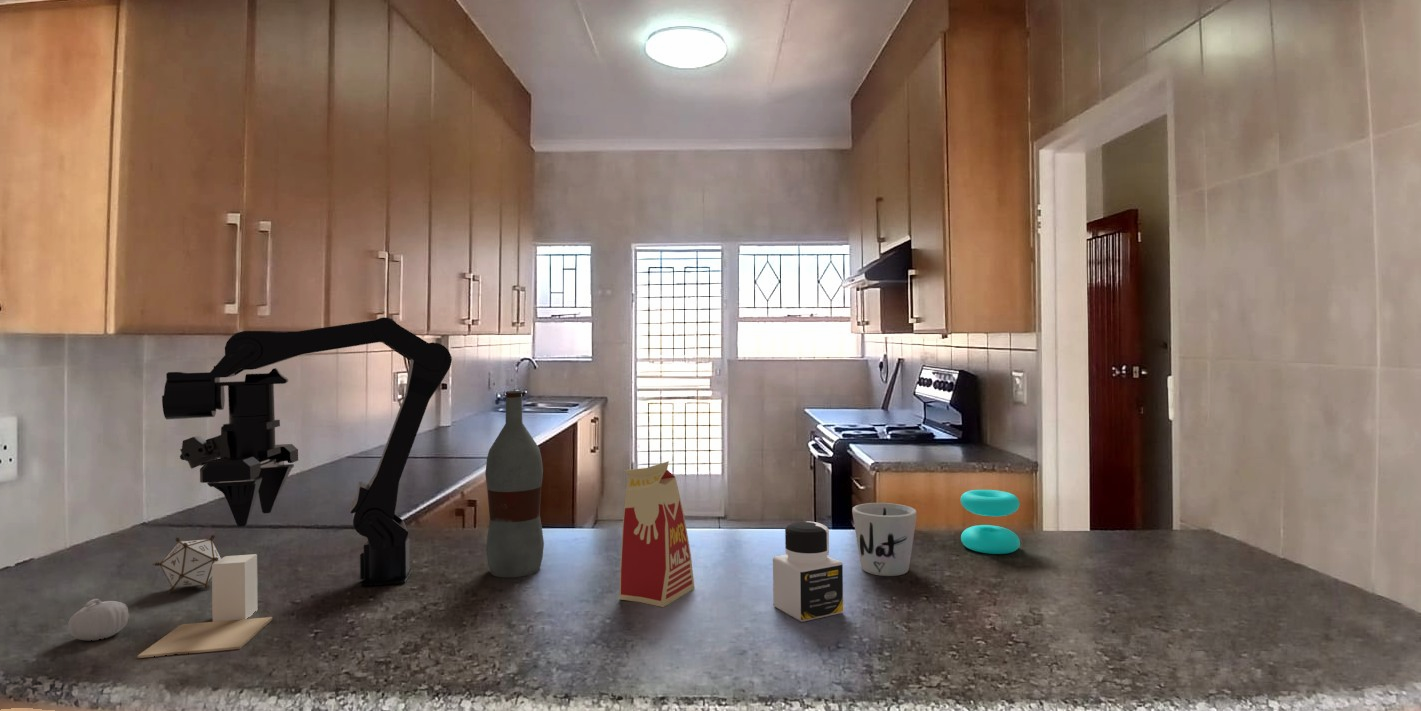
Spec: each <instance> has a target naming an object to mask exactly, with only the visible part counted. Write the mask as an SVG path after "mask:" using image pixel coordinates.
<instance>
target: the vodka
mask: <svg viewBox="0 0 1421 711" xmlns="http://www.w3.org/2000/svg"><path fill="white" fill-rule="evenodd" d="M504 394H505V424H504V425H503V427H502V429H501V430H500V432H499V434H498V435H497V437H496V439H495V440H494V442H493V443H492V444H491V447H490V448H489V450H488V452H487V457H486V462H485V465H486V466H485V475H484V476H485V482H486V487H487V488H486V490H487V500H488V501H487V502H488V512H489V521H488V522H489V523H488V529H487V534H486V535H487V536H486V537H487V538H486V545H485V546H486V547H485V550H486V551H485V552H486V559H487V566H488V568H489V572H490V574H491V575H492V576H494V577H498V578H508V579H509V578H520V577H527V576H530V575H533V574H535V573H537V572H538V571H540V569H541V565H542V562H543V556H544V546H545V542H544V535H543V526H542V521H541V501H542V500H541V498H542V484H543V474H544V467H543V460H542V453H541V450H540V447H539V445H538V444H537V442H536V441H535V439H534V438H533V437H532V435H531V433H530V432H529V431H528V428H526V426H525V424H524V423H523V400H522V396H523V395H522V394H523V391H522V390H507V391H505V392H504Z"/></svg>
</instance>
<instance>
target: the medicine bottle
mask: <svg viewBox="0 0 1421 711" xmlns="http://www.w3.org/2000/svg"><path fill="white" fill-rule="evenodd" d="M784 531H785V532H784V536H785V538H784V539H785V540H784V541H785V542H784V544H785V545H784V546H785V551H784V552H785V554H781V555H776V556H773V557H772V581H773V582H772V589H773V590H772V595H773V597H772V598H773V601H772V602H773V603H772V604H773V607H775V608H777V609H778V610H780V611H781V612H783V613H785V614H786V615H788V616H791V617H792V618H793V619H795V620H797V621H798V622H800V623H805V622H809V621H813V620H816V619H817V620H818V619H822V618H825V617H831V616H835V615H840V614H843V612H844V585H843V582H844V581H843V580H844V579H843V577H844V574H843V573H844V572H843V569H844V567H843V562H842V561H841V560H837V559H835V558H833V557H831V556H829V554H830V529H829V528H828V527H827V526H826V525H825V524H822V523H820V522H817V521H816V522H815V521H810V520H809V521H806V520H805V521H802V520H801V521H795V522H792V523H790V524H788V525H787V526H786V527H785V529H784Z"/></svg>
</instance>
